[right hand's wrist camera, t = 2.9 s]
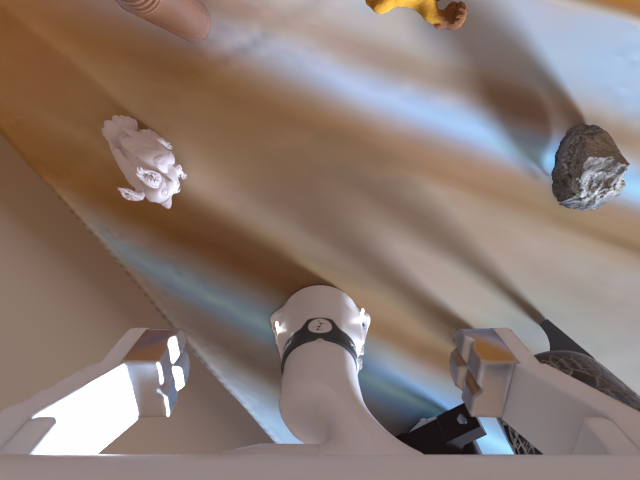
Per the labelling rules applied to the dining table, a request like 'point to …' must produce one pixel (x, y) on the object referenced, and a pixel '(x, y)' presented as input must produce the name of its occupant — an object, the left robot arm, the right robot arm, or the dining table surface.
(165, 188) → the figurine
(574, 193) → the rock
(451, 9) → the toy
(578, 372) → the planter
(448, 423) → the mechanical component
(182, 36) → the bottle
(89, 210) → the dining table surface
